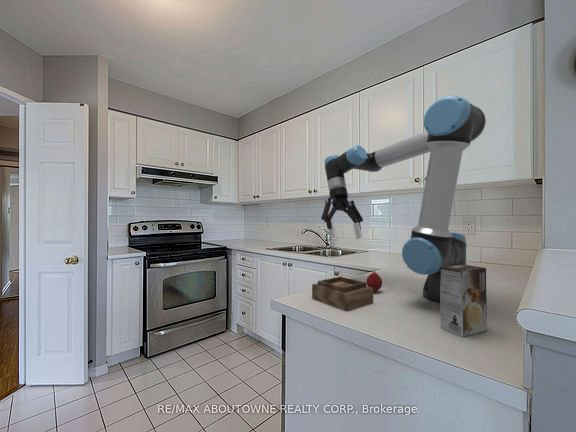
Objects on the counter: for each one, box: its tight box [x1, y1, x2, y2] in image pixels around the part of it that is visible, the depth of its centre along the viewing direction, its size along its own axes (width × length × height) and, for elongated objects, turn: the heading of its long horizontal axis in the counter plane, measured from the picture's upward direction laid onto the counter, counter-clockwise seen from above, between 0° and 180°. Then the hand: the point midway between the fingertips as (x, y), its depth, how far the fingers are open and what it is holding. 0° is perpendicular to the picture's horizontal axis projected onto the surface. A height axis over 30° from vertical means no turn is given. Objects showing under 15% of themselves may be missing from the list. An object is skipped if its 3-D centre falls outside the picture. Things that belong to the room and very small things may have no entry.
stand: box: [311, 276, 374, 312], centre depth 95 cm, size 16×13×6 cm
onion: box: [365, 270, 383, 293], centre depth 105 cm, size 6×6×8 cm
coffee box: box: [439, 264, 488, 338], centre depth 71 cm, size 9×6×16 cm
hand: (346, 237), depth 111 cm, fingers open, 13 cm apart
